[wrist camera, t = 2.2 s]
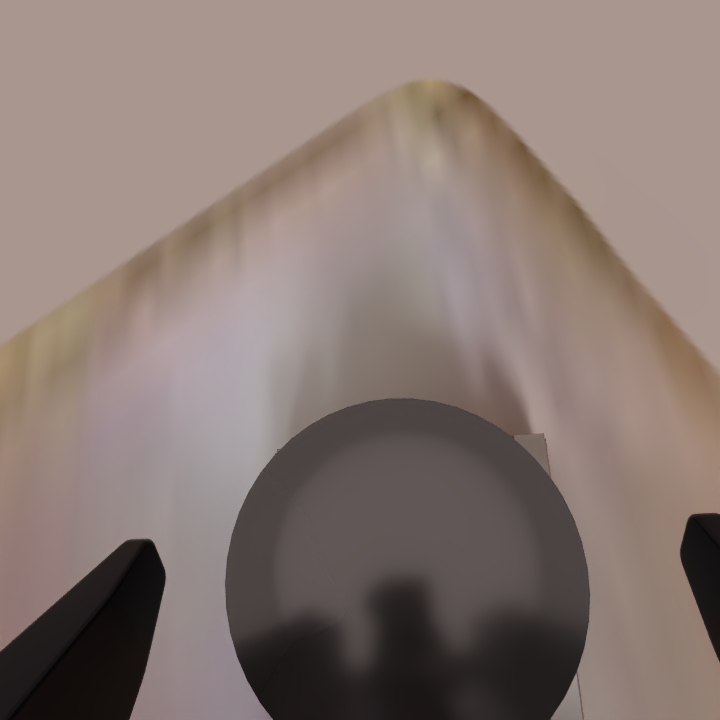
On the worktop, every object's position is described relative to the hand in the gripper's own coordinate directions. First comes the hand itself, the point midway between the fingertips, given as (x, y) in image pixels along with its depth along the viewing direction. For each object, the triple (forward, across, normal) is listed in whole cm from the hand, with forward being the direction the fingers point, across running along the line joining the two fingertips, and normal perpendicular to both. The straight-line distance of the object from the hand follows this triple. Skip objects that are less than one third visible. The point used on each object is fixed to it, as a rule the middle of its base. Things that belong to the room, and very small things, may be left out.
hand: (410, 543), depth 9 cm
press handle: (+5, 0, +5) cm, 7 cm away
